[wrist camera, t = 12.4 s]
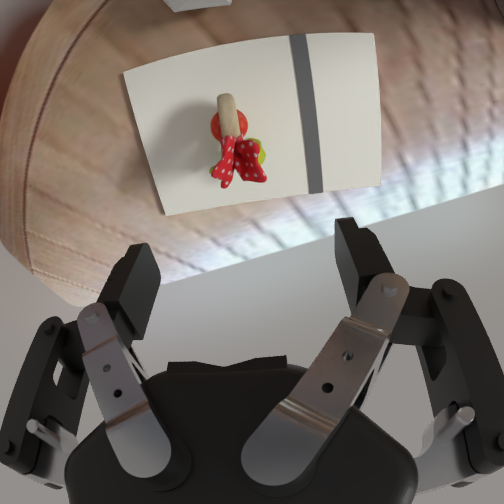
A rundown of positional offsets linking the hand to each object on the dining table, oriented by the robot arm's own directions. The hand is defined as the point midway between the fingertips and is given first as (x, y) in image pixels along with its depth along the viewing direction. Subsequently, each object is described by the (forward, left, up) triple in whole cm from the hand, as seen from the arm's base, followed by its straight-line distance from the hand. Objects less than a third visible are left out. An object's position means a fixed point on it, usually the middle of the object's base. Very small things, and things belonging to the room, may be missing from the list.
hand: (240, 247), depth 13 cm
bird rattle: (0, -2, -22) cm, 22 cm away
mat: (0, +2, -22) cm, 22 cm away
